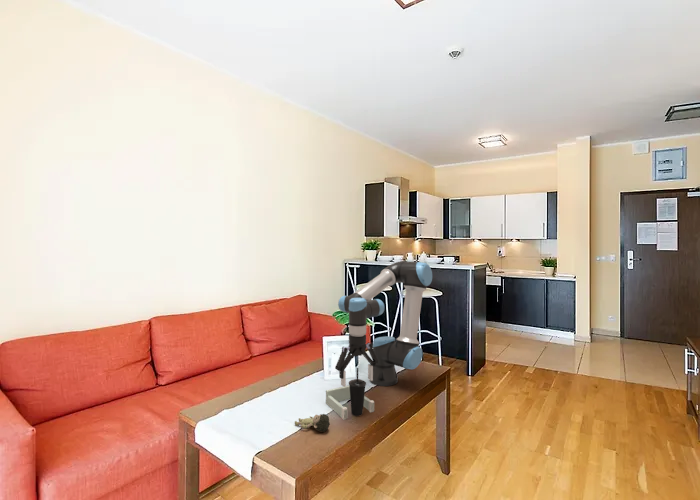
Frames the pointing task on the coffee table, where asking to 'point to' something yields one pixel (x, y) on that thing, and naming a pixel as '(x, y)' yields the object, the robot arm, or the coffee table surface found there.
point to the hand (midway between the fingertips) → (357, 382)
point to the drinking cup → (357, 395)
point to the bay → (340, 395)
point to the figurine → (315, 422)
